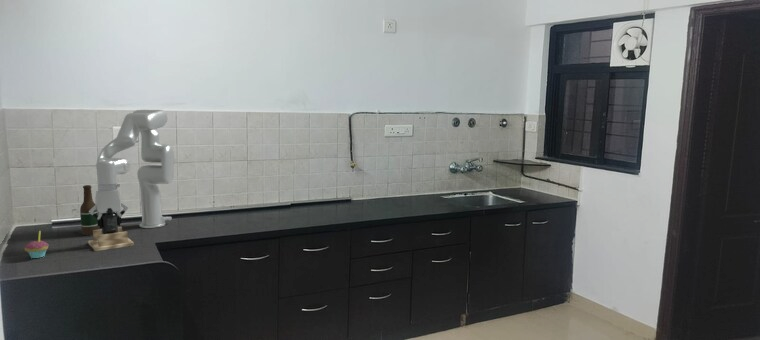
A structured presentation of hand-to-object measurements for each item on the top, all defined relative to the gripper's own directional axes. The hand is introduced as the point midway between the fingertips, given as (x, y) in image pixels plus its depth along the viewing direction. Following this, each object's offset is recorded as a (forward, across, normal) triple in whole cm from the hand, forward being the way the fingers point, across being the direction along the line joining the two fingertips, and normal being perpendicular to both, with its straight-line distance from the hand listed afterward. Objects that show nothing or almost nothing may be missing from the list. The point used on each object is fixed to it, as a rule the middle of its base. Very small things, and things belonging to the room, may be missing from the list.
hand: (109, 226), depth 250 cm
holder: (+9, 0, 0) cm, 9 cm away
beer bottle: (+9, +4, -27) cm, 29 cm away
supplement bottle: (+3, 0, 0) cm, 3 cm away
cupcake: (+9, +29, +4) cm, 30 cm away
